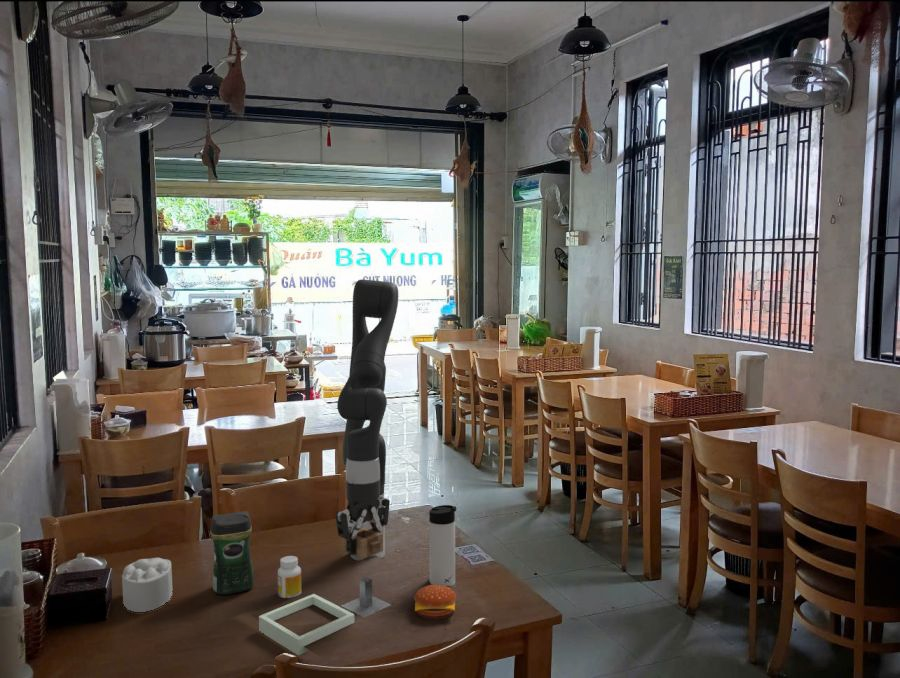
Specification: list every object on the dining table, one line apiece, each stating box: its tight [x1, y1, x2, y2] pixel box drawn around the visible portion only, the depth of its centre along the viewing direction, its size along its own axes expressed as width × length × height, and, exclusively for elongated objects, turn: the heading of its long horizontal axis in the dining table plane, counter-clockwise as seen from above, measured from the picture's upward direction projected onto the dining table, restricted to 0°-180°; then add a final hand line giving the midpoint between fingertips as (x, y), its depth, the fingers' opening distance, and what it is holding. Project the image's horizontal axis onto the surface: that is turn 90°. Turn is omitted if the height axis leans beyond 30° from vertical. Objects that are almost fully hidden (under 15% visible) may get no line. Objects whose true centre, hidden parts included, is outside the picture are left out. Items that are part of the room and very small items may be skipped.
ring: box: [344, 527, 383, 560], centre depth 160 cm, size 7×6×4 cm
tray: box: [258, 593, 356, 656], centre depth 154 cm, size 14×14×3 cm
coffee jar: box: [209, 510, 255, 595], centre depth 174 cm, size 10×8×19 cm
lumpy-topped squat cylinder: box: [121, 557, 173, 612], centre depth 168 cm, size 10×13×9 cm
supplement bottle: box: [277, 555, 302, 599], centre depth 168 cm, size 5×5×10 cm
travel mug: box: [428, 504, 457, 588], centre depth 174 cm, size 6×7×20 cm
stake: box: [340, 576, 392, 618], centre depth 162 cm, size 8×8×8 cm
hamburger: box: [413, 584, 457, 621], centre depth 160 cm, size 9×10×7 cm
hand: (363, 549), depth 161 cm, fingers closed on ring, 6 cm apart
